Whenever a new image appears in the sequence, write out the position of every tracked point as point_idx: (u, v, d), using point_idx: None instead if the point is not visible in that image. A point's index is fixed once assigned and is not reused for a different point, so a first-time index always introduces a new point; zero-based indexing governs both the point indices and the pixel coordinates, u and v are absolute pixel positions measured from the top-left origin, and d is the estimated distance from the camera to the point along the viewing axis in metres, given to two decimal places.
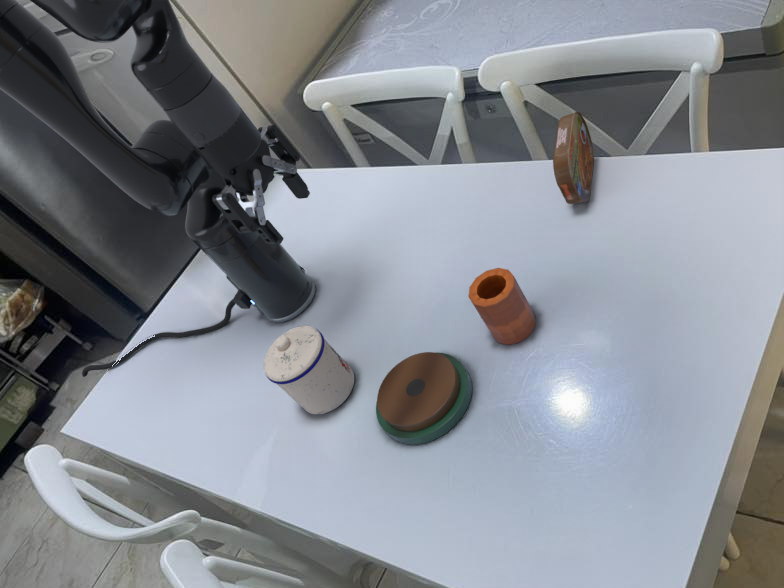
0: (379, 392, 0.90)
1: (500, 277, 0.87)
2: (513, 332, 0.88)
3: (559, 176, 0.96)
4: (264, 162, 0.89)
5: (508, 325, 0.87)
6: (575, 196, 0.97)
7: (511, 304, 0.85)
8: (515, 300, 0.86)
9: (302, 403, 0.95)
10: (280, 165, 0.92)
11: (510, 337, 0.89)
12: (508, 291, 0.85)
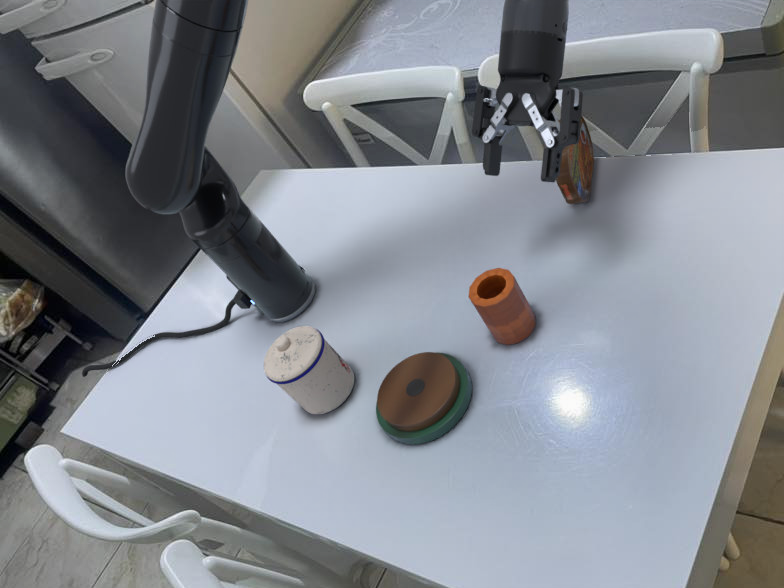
0: (379, 392, 0.90)
1: (500, 277, 0.87)
2: (513, 332, 0.88)
3: (559, 176, 0.96)
4: None
5: (508, 325, 0.87)
6: (575, 196, 0.97)
7: (511, 304, 0.85)
8: (515, 300, 0.86)
9: (302, 403, 0.95)
10: None
11: (510, 337, 0.89)
12: (508, 291, 0.85)
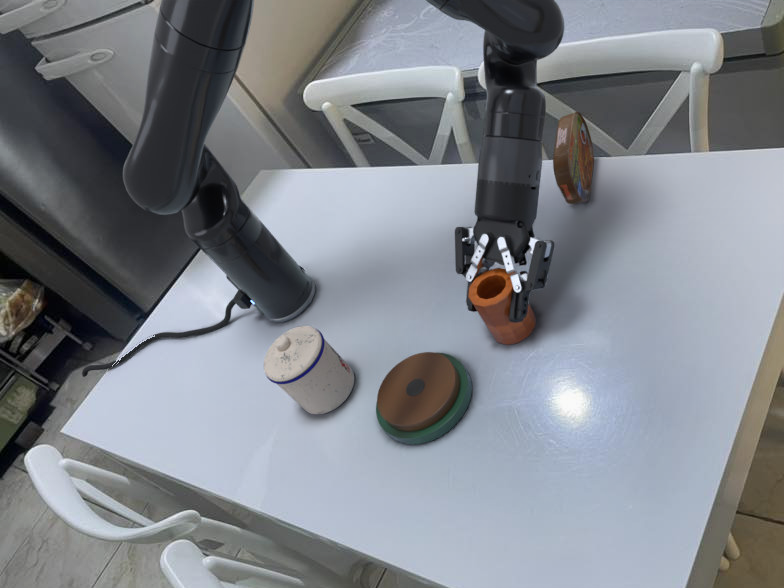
0: (379, 392, 0.90)
1: (500, 277, 0.87)
2: (513, 332, 0.88)
3: (559, 176, 0.96)
4: None
5: (508, 325, 0.87)
6: (575, 196, 0.97)
7: None
8: None
9: (302, 403, 0.95)
10: None
11: (510, 337, 0.89)
12: (508, 291, 0.85)
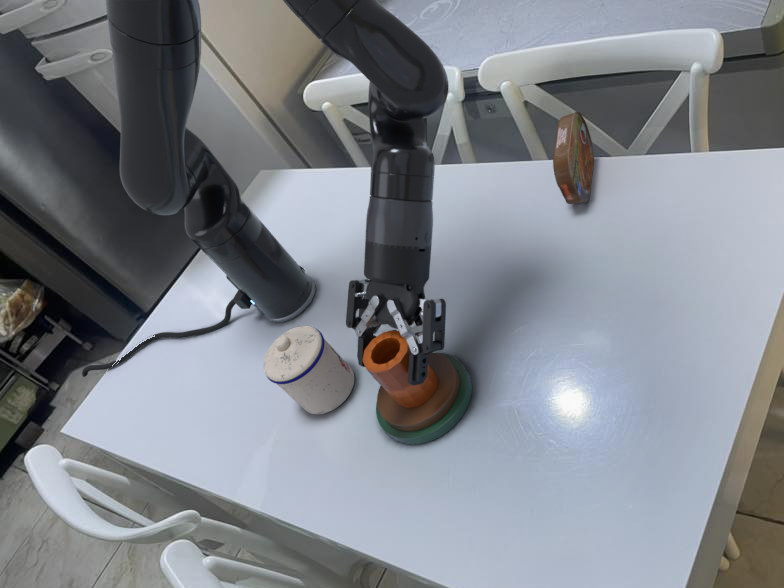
0: (379, 392, 0.90)
1: (396, 340, 0.83)
2: (411, 396, 0.85)
3: (559, 176, 0.96)
4: None
5: (404, 390, 0.84)
6: (575, 196, 0.97)
7: (405, 369, 0.82)
8: None
9: (302, 403, 0.95)
10: None
11: (409, 401, 0.85)
12: (401, 356, 0.81)
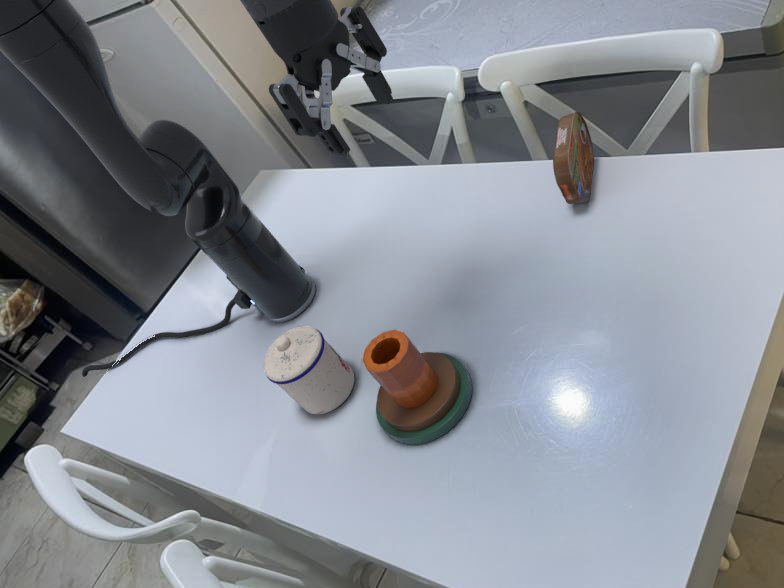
0: (379, 392, 0.90)
1: (396, 340, 0.83)
2: (411, 396, 0.85)
3: (559, 176, 0.96)
4: (338, 52, 0.72)
5: (404, 390, 0.84)
6: (575, 196, 0.97)
7: (405, 369, 0.82)
8: (410, 365, 0.82)
9: (302, 403, 0.95)
10: (359, 59, 0.75)
11: (409, 401, 0.85)
12: (401, 356, 0.81)
